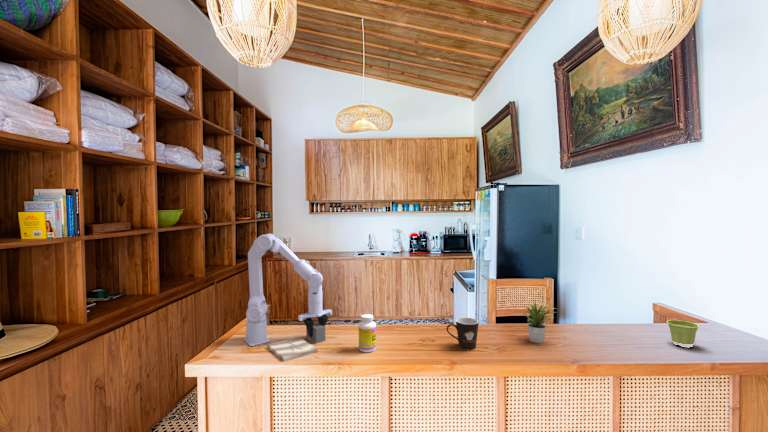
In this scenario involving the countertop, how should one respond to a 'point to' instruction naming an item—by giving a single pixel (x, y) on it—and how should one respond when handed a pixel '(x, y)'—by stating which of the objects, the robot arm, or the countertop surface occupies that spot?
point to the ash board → (292, 348)
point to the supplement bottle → (367, 333)
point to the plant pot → (682, 331)
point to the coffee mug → (466, 332)
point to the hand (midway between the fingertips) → (315, 334)
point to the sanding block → (317, 333)
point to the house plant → (537, 322)
